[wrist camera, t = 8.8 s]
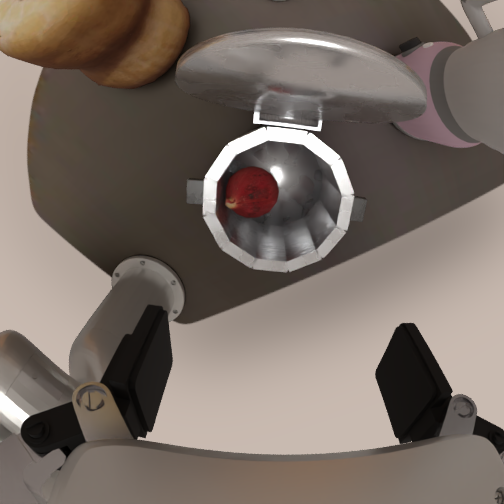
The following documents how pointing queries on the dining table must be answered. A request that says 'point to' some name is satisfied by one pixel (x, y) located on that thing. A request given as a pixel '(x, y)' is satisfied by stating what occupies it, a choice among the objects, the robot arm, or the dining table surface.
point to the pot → (280, 198)
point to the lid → (302, 77)
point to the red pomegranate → (251, 192)
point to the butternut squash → (97, 37)
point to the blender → (460, 86)
